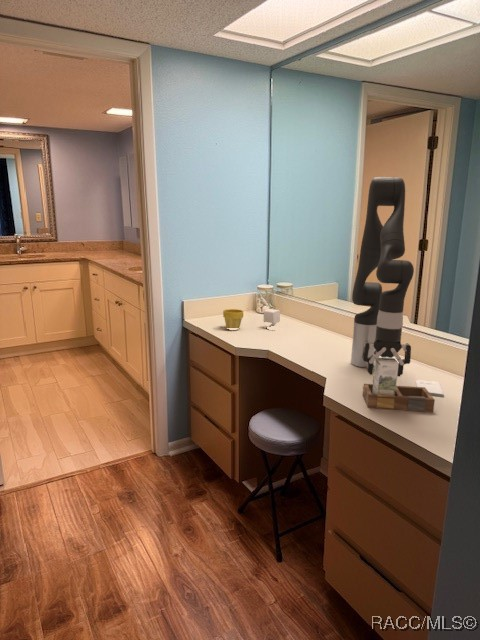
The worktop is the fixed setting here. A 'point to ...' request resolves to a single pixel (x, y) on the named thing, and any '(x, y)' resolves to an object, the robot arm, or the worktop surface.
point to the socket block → (400, 399)
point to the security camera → (272, 316)
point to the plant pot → (233, 317)
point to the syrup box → (385, 376)
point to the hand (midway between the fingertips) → (384, 374)
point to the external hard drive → (431, 387)
